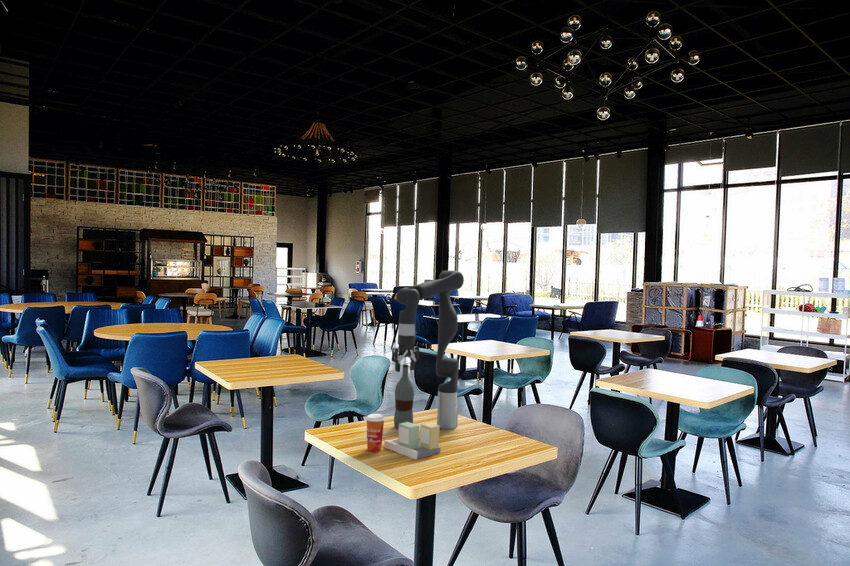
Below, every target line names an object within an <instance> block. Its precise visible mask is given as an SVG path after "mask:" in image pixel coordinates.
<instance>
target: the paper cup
mask: <svg viewBox="0 0 850 566" xmlns="http://www.w3.org/2000/svg"><path fill="white" fill-rule="evenodd" d="M365 420H366V443H367V444H366V446H367V451H368V452H370V453H379V452H381V451H382V446H383V436H384V434H383V433H384V425H385V424H384V423H385V420H386V419H385V417H384V415H383V414H382V413H381V414H380V413H370V414H368V415H367V416H366V418H365ZM378 451H379V452H378Z"/></svg>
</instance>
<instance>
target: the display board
mask: <svg viewBox="0 0 850 566" xmlns="http://www.w3.org/2000/svg"><path fill="white" fill-rule="evenodd" d="M384 447H385V449H387V450H389V449H390V450H389V451H392V450H393V451H392V452H394V451H395V452H394V453H396V454H400V455H402V456H405V457H407V456H408V458H411V459H412V460H418V459H422V458H425V457H429V456H432V455H437V454H441V447H440V446H439V448H435V449H432V450H429V449H426V448H423V447H420V439H419V448H415V449H410V448H407V447H404V446H401V445H399V444H398V439H394V440H388V439H384V443H383V448H384ZM436 453H437V454H436Z"/></svg>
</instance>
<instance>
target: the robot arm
mask: <svg viewBox="0 0 850 566" xmlns="http://www.w3.org/2000/svg"><path fill="white" fill-rule="evenodd" d="M464 281H465V279H464V275H463V273H462V272H461V271H459V270H442V271H441V272H440V274H439V276H438V279H432V280H428V281H425V282H421V283H418V284H416V285H412V286H406V287H403V288H400V289H399V290H398V291H397V292H396V294H395V298H396V301H397V302H398V303H399V304H401V305H406V308H405V309H403V310H400V311H399V315H398V316H399V318H398V329H397V344H398V347H393V348H392V350H391V362H393V363H395V365H394V367H395V368H394V370H395V372H398V373H400V372H401V365H402V364H401V362H402V361H403V360H404V359H405V358H409V360H410V363H409V370H410V371H415V369H416V362H417V361H420V346H418V345H417V346H414V345H416V314H417V311H418V307H419V304H420V300H424V299H427V298H430V297H433V296H435V295H438V325H437V329H438V330H437V331H438V333H437V350H436V351H437V352H436V362H435V374H436V376H437V377H439V378H440V377H441V378H450V380H449V381H447V382H444V383H439V385H438V387H437V389H438V390H437V408H436V409H437V413H436V425H439V426H440V428H439V430H440V429H443V430H454V429H456V428H457V427H458V419H459V415H458V414H459V407H458V405H457V403H458V380H459V367H460V364H459V363H460V361H459V359H458V358H456V357H454V358H453V357H445V356H444V355H445V352H446V349H447V347H448V346H449V344H450V343H451V342H452V340H453V339H454V337H455V336H456V334H457V332H458V323H459V321H458V320H459V319H458V314H457V312H456V309H455V307H454V306H453V303H452V301H451V291H455V290H456V291H457V290H459V289H460V288H462V287H463V285H464Z"/></svg>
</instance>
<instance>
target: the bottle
mask: <svg viewBox="0 0 850 566" xmlns="http://www.w3.org/2000/svg"><path fill="white" fill-rule="evenodd" d="M394 397H395V399H394V401H395V404H394V405H395V408H394V409H395V410H394V416H393V424H394V425H393V426H394V429H395V430H397V431H398V429H399V424H400V423H405V422H410V423H413V424H414V412H413V408H414V407H413V406H414V399H415V389H414V384H413V382H412V381H411V380H410V377H409V364H402V375H401V377H400V379H399V381H398V382H397V383H396V385H395V389H394Z"/></svg>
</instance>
